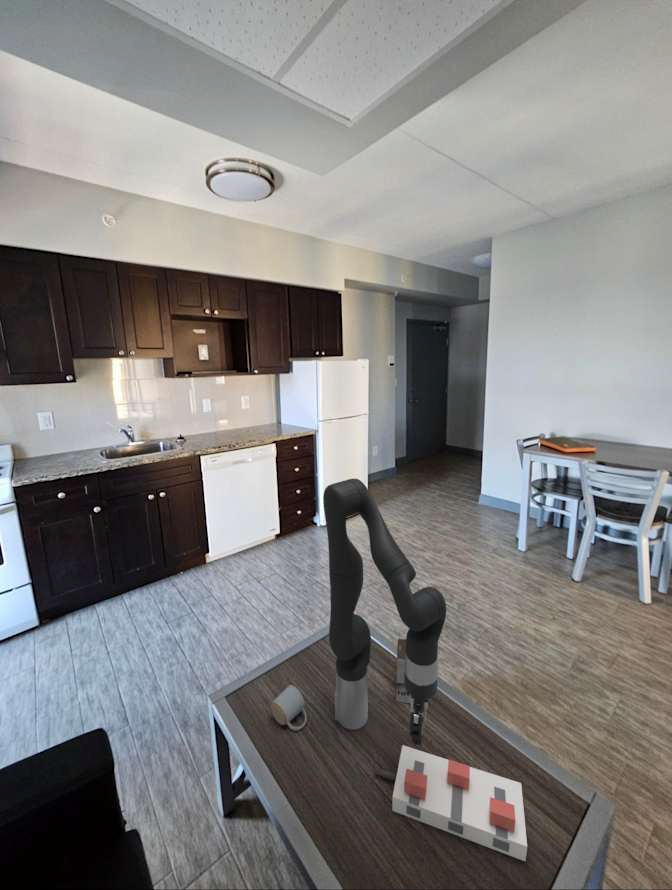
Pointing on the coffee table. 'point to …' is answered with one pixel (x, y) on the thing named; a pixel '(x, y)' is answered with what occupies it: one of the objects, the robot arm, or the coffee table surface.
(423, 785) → the toggle
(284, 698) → the ceramic mug
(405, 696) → the coffee box
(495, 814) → the toggle
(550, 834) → the coffee table surface
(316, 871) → the coffee table surface
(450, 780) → the toggle
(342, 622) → the robot arm
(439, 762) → the slider control panel
